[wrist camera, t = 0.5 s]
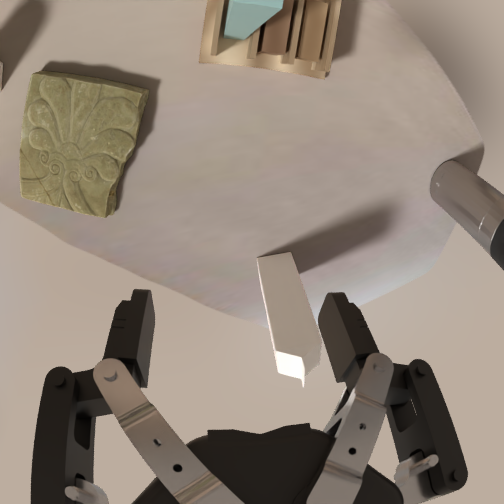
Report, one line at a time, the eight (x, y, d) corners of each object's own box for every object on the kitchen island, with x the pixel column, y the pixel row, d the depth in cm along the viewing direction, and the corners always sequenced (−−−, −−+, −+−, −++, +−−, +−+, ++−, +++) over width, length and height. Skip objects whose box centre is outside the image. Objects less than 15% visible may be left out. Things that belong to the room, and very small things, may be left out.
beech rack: (334, 2, 26) (353, -5, 21) (321, 79, 33) (338, 82, 28) (211, -19, 23) (210, -33, 19) (199, 62, 30) (196, 62, 26)
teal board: (249, 5, 25) (293, -61, 8) (243, 40, 28) (282, 8, 11) (228, 3, 25) (246, -68, 8) (223, 38, 28) (233, 1, 10)
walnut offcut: (284, 1, 25) (294, -8, 21) (276, 55, 30) (284, 54, 26) (264, -3, 25) (272, -12, 21) (256, 52, 30) (262, 50, 26)
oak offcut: (317, 8, 26) (328, 3, 23) (308, 61, 31) (318, 62, 27) (298, 3, 26) (307, -2, 22) (289, 57, 30) (297, 57, 27)
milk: (290, 251, 50) (330, 361, 32) (292, 277, 53) (326, 383, 36) (255, 257, 50) (280, 372, 32) (259, 283, 53) (282, 392, 36)
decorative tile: (26, 190, 37) (16, 200, 34) (41, 69, 26) (27, 72, 23) (123, 215, 42) (117, 228, 40) (155, 89, 32) (149, 91, 29)
